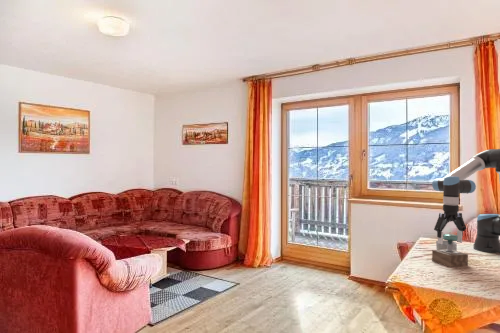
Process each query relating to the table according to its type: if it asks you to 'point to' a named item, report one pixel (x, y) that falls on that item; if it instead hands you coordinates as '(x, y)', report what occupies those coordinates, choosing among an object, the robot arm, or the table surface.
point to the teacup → (445, 245)
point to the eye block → (450, 258)
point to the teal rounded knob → (450, 241)
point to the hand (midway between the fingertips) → (449, 243)
